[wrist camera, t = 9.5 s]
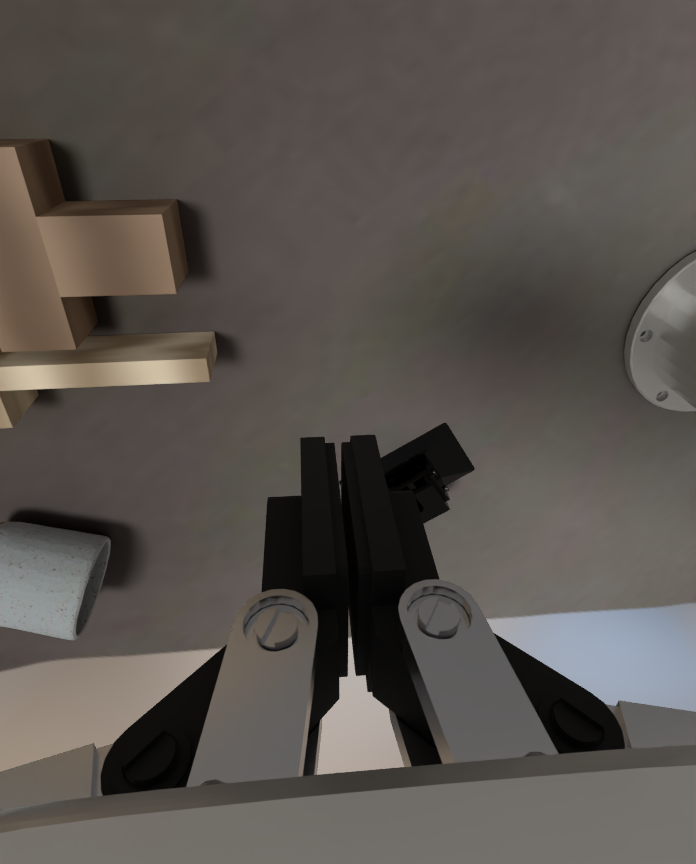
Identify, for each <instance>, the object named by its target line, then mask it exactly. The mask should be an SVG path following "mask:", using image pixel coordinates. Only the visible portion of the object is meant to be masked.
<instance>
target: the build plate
mask: <svg viewBox="0 0 696 864" xmlns="http://www.w3.org/2000/svg"><path fill="white" fill-rule="evenodd" d="M381 462H382V467H383V471H384V475H385V480H386V484H387V488H388V491H407V490H412V491H413V492H414V495H415V498H416V501H417V505H418V508H419V511H420V515H421V518H422V522H423V523H425V522H427V521H429V520H431V519H433V518H435V517H437V516H439V515H441V514H442V513H444V512H446V511H448V510H450V508H449V506H448V503H447V501H448V500H450V498H449V495H448V493H447V491H449V489H448V487H447V486H446V485H448V484H450V483H451V482H453V481H455V480H457V479H459V478H461V477H462V476H464V475H466V474H468V473H470V472H472V471H473V470H474V469H475V468H474V466H473V465H472V463H471V462H470V460H469V458H468V457H467V455H466V454H465V452H464V450H463V449H462V447H461V446H460V444H459V442H458V441H457V439H456V438H455V436H454V434H453V433H452V431H451V430H450V428H449V426H448V425H447V423H443V424H441V425H439V426H438V427H436V428H434V429H432V430H430V431H429V432H427V433H425V434H423V435H421V436H420V437H418V438H416V439H414V440H412V441H411V442H409V443H407V444H405V445H404V446H402V447H400V448H398V449H396V450H395V451H393V452H391V453H389V454H387V455H386V456H384V457H382V458H381ZM339 483H340V485H341V481H340V482H339Z"/></svg>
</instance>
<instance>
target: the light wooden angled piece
mask: <svg viewBox="0 0 696 864" xmlns="http://www.w3.org/2000/svg"><path fill="white" fill-rule="evenodd" d="M216 357H217V346H216V340H215V333H214V331H210V332H183V333H157V334H130V335H104V336H87V337H86V338H85V340H84V341H83V342H82V343H81V344H80V346H79V347H78V348H77V349H75V350H47V351H18V352H2V351H1V348H0V428H13V427H14V425H15V424H16V423H17V422H18V420H19V419H20V418H21V417H22V415H23V414H24V413H25V412H26V410H27V409H28V408H29V407H30V405H31V404H32V403H33V402H34V400H35V399H36V398H37V397H38V395H39V394H38V392H37V389H56V388H78V387H101V386H123V385H145V384H168V383H190V382H210V379H211V376H212V372H213V368H214V364H215V360H216Z"/></svg>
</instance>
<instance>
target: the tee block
mask: <svg viewBox="0 0 696 864" xmlns="http://www.w3.org/2000/svg"><path fill="white" fill-rule="evenodd" d="M188 272H189V269H188V263H187V257H186V251H185V245H184V239H183V233H182V227H181V221H180V215H179V209H178V203H177V199H167V200H109V201H65V198H64V194H63V191H62V187H61V183H60V180H59V176H58V172H57V169H56V165H55V161H54V158H53V154H52V150H51V147H50V143H49V139H1V140H0V348H1V351H2V352H18V351H47V350H75V349H77V348H78V347H79V346H80V344H81V343H82V342H83V341H84V340H85V338H86V337H87V336H88V335H89V333H90V332H91V331H92V330H93V329H94V327H95V326H96V325H97V324H98V319H97V315H96V311H95V308H94V304H93V300H92V297H91V296H115V295H150V294H176V293H177V292H178V290H179V288H180V286H181V285H182V283H183V281H184V279H185V277H186V276H187V274H188Z"/></svg>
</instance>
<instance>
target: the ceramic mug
mask: <svg viewBox="0 0 696 864" xmlns="http://www.w3.org/2000/svg"><path fill="white" fill-rule="evenodd" d="M110 547H111V540H110V538H109V537H107V536H102V535H96V534H90V533H84V532H78V531H73V530H67V529H60V528H53V527H48V526H42V525H37V524H31V523H25V522H1V523H0V626H3V627H9V628H14V629H19V630H24V631H29V632H33V633H38V634H43V635H48V636H52V637H57V638H62V639H67V640H76V639H77V638H79V637H80V636H81V634H82V633H83V631H84V629H85V628H86V626H87V623H88V621H89V619H90V617H91V614H92V612H93V609H94V606H95V603H96V600H97V598H98V595H99V592H100V589H101V586H102V583H103V579H104V576H105V572H106V569H107V563H108V559H109V555H110Z"/></svg>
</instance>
